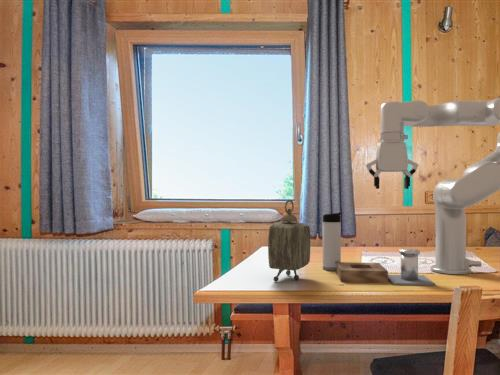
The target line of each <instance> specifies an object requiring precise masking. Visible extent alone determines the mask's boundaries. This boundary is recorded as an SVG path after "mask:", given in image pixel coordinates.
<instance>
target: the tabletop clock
mask: <svg viewBox="0 0 500 375" xmlns="http://www.w3.org/2000/svg"><path fill="white" fill-rule="evenodd" d="M284 203H285V204H284V209H285V214H284V215H283V216H282V218H281V220H280V221H276V222H274V223H271V225H270V226H269V230H268V238H267V239H268V240H267V241H268V242H267V248H268V249H267V250H268V252H267V254H268V257H267V258H268V265H269V268H270V269H274V270H278V272H277V275H276V276H274V277H273V282H276V283H277V282H278V281H279V276H280V275H281V273H283V271H285V275H287V276H290V275H291V274H292V273H291V271H293V273H294V275H293V279H294V280H295V281H298V280H299V279H300V276H299V275H298V274H297V270H301V269H302V268H304V267H306V266H307V265H308V264H309V263H310V261H311V228H310V226H309V225H307V224H305V223H303V222H298V218H297V217H296V215H295V214H292V212H294V207H295V206H294V201H293V200H292V199H287V200H286V201H285V202H284ZM289 203H290V204H291V208H287V206H288V204H289Z"/></svg>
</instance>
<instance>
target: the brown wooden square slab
mask: <svg viewBox="0 0 500 375" xmlns="http://www.w3.org/2000/svg"><path fill="white" fill-rule="evenodd" d="M336 274H337V276H338V279H339V280H340V282H341V283H342V282H343V283H345V282H346V283H347V282H348V283H381V284H382V283H383V284H384V283H385V284H386V283H387V284H388V283H389V280H388V275H389V272H388V269H386V268H385V267H384V266H383V265H382V264H381V263H380V262H348V261H347V262H346V261H345V262H344V261H341V262H337V271H336Z"/></svg>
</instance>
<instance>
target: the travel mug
mask: <svg viewBox="0 0 500 375" xmlns="http://www.w3.org/2000/svg"><path fill="white" fill-rule="evenodd" d="M342 213H343V212H341V211H339V212H334V213H333V212H332V213H326V214H323V215H322V269H323V270H325V271H329V272H330V271H332V272H337V262H342V260H341V259H342V258H341V257H342V255H341V254H342V251H341V250H342V248H341V246H342V243H341V242H342V241H341V240H342V238H341V237H342V234H341V233H342V232H341V230H342V227H341V226H342V225H341V223H342V222H341V221H342V220H341V219H342V218H341V215H343V214H342Z"/></svg>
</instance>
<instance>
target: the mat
mask: <svg viewBox="0 0 500 375" xmlns="http://www.w3.org/2000/svg"><path fill="white" fill-rule="evenodd" d="M388 282H390V283H391V284H392V285H393V286H420V287H421V286H422V287H424V286H425V287H426V286H427V287H436V286H437V285H436V284H437V283H435V282H433V280H431V279H429V278H428V277H426V276H425V275H424V274H423V275H421V274H418V280H417V281H407V280H402V279H401V274H388Z"/></svg>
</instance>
